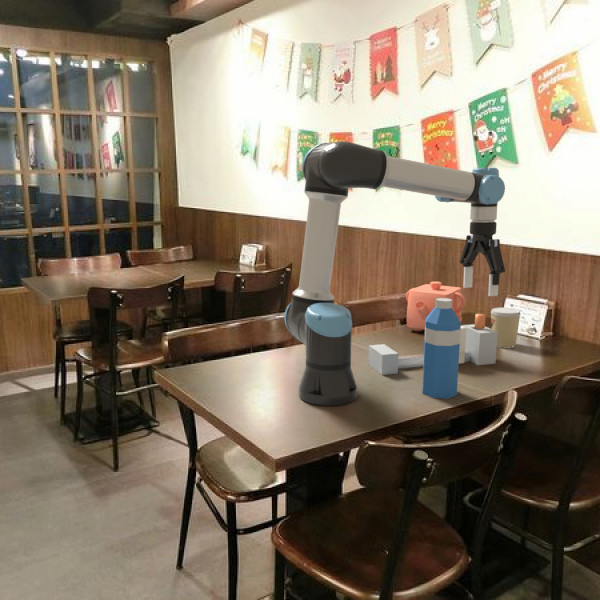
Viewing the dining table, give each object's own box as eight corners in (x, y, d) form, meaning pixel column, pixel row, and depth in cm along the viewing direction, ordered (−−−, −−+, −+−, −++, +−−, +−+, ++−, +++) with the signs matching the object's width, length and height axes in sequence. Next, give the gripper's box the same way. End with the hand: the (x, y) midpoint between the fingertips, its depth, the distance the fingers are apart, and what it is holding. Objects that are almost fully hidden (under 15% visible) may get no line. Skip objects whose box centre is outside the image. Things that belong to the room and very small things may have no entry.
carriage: (440, 365, 177) (442, 329, 175) (430, 359, 183) (432, 325, 180) (464, 363, 179) (466, 327, 177) (453, 357, 185) (455, 323, 182)
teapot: (448, 343, 201) (451, 292, 197) (387, 334, 213) (389, 285, 210) (471, 328, 222) (474, 281, 218) (414, 320, 234) (416, 275, 230)
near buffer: (381, 374, 170) (382, 354, 169) (368, 364, 179) (368, 345, 178) (397, 373, 171) (398, 353, 170) (383, 363, 181) (384, 344, 179)
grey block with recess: (478, 365, 178) (480, 333, 176) (460, 355, 188) (462, 325, 186) (495, 363, 180) (497, 331, 178) (477, 354, 189) (479, 323, 187)
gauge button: (478, 329, 180) (478, 316, 179) (472, 326, 183) (473, 314, 182) (486, 328, 181) (487, 315, 180) (481, 325, 183) (482, 313, 183)
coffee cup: (493, 339, 206) (496, 306, 204) (521, 344, 201) (524, 309, 198) (484, 345, 199) (487, 310, 196) (513, 350, 193) (515, 314, 191)
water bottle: (451, 401, 150) (456, 305, 145) (416, 394, 155) (419, 300, 150) (462, 390, 158) (467, 298, 153) (428, 383, 163) (432, 294, 157)
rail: (392, 369, 175) (392, 359, 174) (388, 366, 177) (389, 357, 176) (469, 361, 182) (470, 352, 181) (465, 359, 184) (466, 350, 183)
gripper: (520, 223, 164) (516, 298, 168) (471, 217, 187) (468, 283, 192) (497, 224, 162) (493, 300, 166) (450, 218, 185) (447, 285, 190)
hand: (479, 291), depth 179 cm, fingers open, 13 cm apart
